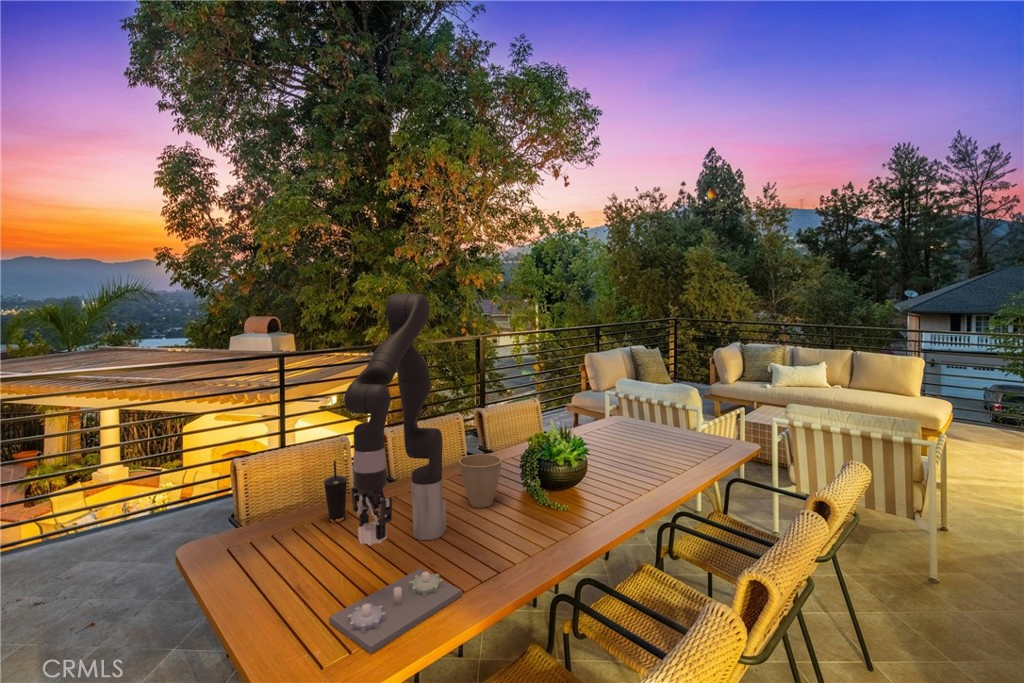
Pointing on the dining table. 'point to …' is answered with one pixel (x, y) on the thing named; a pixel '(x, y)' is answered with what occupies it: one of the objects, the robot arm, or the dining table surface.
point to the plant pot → (480, 478)
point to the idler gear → (368, 534)
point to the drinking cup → (336, 495)
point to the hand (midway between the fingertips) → (372, 534)
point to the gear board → (394, 609)
